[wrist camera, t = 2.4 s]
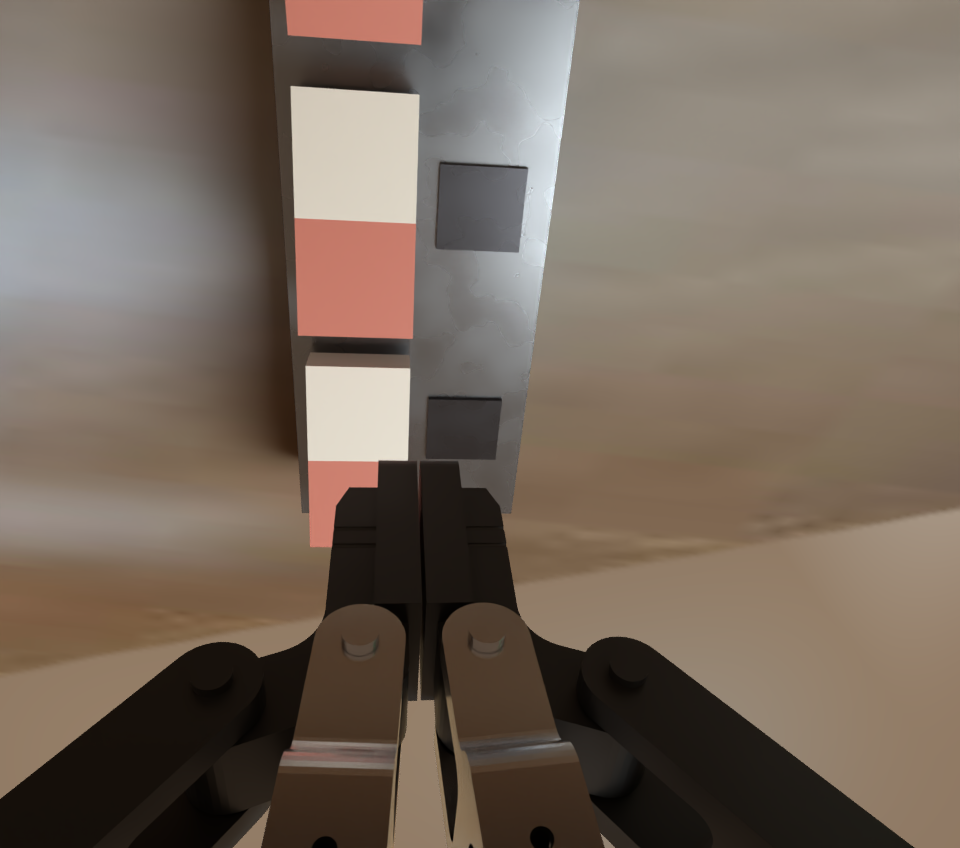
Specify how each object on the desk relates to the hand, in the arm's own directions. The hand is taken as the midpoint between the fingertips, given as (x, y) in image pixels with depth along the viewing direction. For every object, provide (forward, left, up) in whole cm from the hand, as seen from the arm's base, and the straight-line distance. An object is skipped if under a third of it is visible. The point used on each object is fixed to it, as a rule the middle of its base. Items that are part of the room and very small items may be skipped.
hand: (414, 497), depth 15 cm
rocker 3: (+2, +10, -16) cm, 19 cm away
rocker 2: (+2, 0, -16) cm, 16 cm away
